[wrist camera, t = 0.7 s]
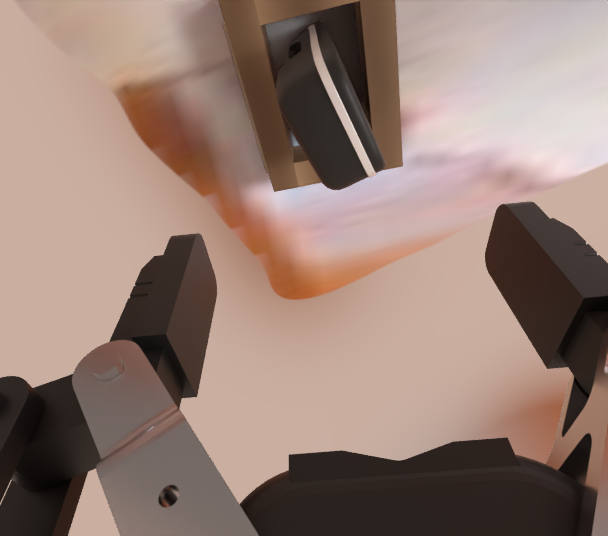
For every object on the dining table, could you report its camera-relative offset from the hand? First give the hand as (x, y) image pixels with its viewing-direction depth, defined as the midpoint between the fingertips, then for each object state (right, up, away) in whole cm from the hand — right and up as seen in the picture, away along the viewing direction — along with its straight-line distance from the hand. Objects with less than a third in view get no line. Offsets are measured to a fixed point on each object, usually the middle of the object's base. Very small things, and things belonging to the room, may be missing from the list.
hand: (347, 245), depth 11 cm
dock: (0, +13, +17) cm, 22 cm away
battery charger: (0, +13, +17) cm, 22 cm away
